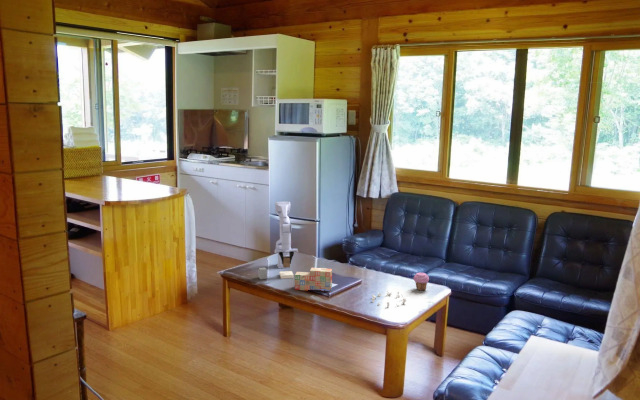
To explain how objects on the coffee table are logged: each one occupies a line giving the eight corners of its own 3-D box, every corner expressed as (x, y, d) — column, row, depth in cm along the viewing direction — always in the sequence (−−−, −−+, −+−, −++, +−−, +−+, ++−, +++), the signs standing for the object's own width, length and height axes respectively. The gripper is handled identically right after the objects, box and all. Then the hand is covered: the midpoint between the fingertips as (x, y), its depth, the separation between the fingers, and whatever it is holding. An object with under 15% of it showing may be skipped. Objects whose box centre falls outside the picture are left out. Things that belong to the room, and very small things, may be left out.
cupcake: (416, 292, 306) (417, 275, 304) (410, 287, 314) (411, 271, 313) (431, 291, 308) (431, 274, 306) (424, 286, 316) (425, 270, 314)
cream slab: (279, 275, 338) (279, 271, 337) (291, 274, 339) (291, 271, 339) (280, 279, 330) (280, 275, 329) (293, 278, 331) (293, 274, 331)
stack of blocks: (294, 290, 309) (294, 269, 307) (296, 286, 315) (296, 266, 313) (330, 292, 306) (330, 271, 304) (332, 288, 312) (332, 268, 310)
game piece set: (413, 301, 292) (413, 294, 291) (391, 310, 278) (392, 304, 277) (385, 292, 305) (385, 286, 305) (363, 301, 291) (363, 295, 291)
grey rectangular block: (258, 277, 332) (258, 268, 331) (264, 276, 334) (264, 267, 333) (260, 279, 329) (260, 269, 328) (266, 278, 330) (266, 269, 329)
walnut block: (282, 265, 335) (282, 256, 334) (289, 265, 335) (289, 256, 334) (283, 267, 331) (283, 258, 330) (289, 267, 332) (289, 257, 331)
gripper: (275, 244, 326) (275, 265, 328) (298, 243, 328) (298, 264, 330) (274, 241, 333) (274, 262, 335) (297, 241, 335) (297, 261, 337)
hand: (286, 263), depth 333 cm, fingers closed on walnut block, 4 cm apart
